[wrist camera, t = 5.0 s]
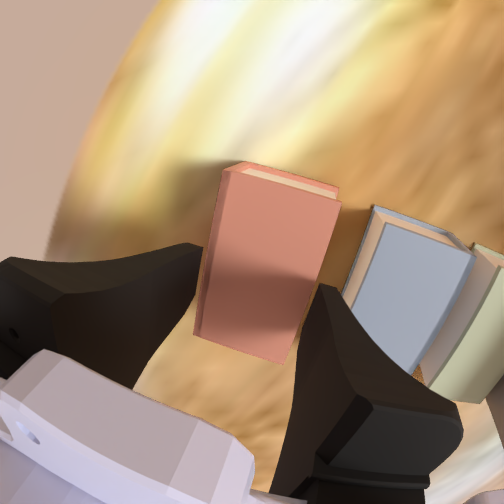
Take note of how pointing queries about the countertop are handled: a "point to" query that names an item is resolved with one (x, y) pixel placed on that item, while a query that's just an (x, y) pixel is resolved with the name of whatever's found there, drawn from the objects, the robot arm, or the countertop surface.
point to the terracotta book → (263, 258)
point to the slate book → (405, 283)
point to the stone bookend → (497, 406)
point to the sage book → (471, 335)
